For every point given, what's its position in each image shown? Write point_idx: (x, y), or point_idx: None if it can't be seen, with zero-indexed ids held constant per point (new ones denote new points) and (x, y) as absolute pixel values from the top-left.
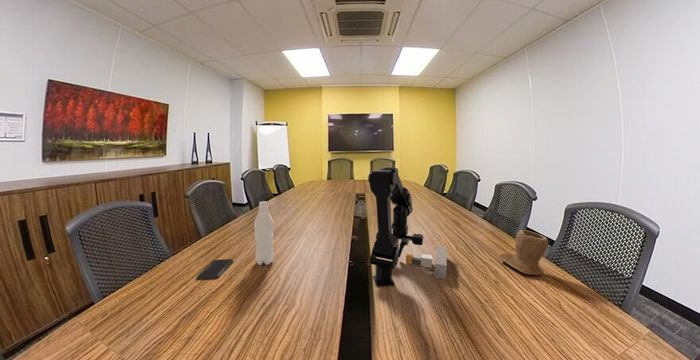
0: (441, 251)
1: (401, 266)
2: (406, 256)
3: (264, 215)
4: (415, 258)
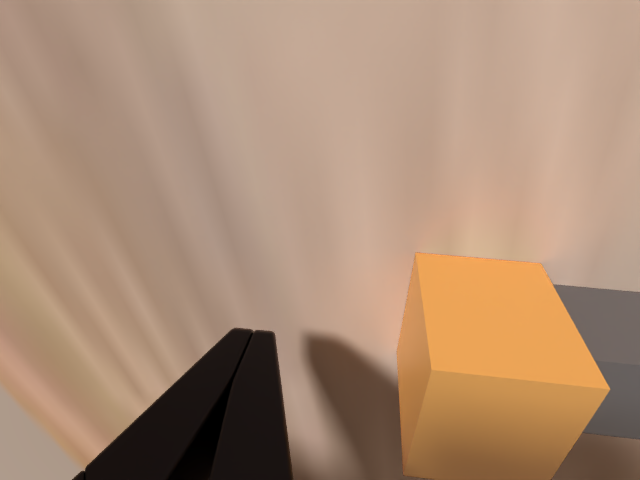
0: None
1: (343, 432)
2: (415, 472)
3: None
4: (616, 402)
